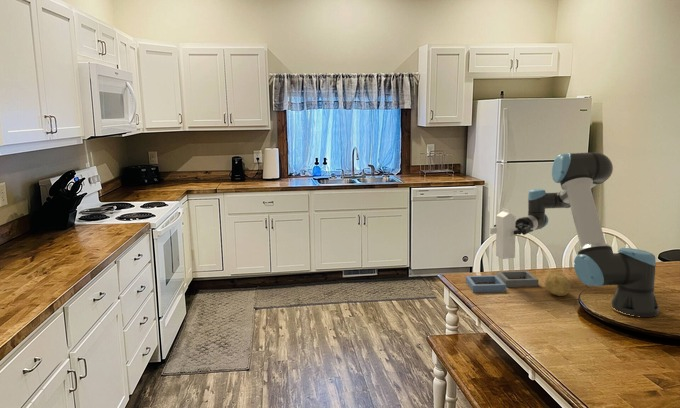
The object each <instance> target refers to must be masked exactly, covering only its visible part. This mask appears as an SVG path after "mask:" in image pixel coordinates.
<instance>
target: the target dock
mask: <svg viewBox="0 0 680 408" xmlns="http://www.w3.org/2000/svg"><path fill="white" fill-rule="evenodd" d="M476 282H477V283H476ZM478 282H487V283H478ZM489 282H494V283H490V284H489ZM465 283H466V285H467V284H468V285H467V286H468V288H469V287H470V288H471V289H470V288H469V289H470V290H471V292H472V291H473V292H472V293H495V292H496V293H501V292H507V287H506V284H505V283H504V282H503V281H502V280H501V279H500V278H499V277H498V276H497V274H495V275H493V274H492V275H491V274H490V275H466V276H465Z"/></svg>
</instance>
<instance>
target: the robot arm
mask: <svg viewBox="0 0 680 408" xmlns="http://www.w3.org/2000/svg"><path fill="white" fill-rule="evenodd" d="M613 170H614V166H613V162H612V160H611V159H610V158H609V157H608V156H607V155H606V154H604V153H601V152H595V151H593V152H568V153H560V154H558V155H557V156H556V157H555V159H554V161H553V163H552V168H551V177H552V180H553V181H554V183H557V184H560V188H561V190H560V191H559V192H546V189H544V188H542V189H541V188H532V189H530V190H529V191H528V197H527V203H528V204H527V205H528V206H527V207H528V210H527V215H525V216H523V217H519V218H517V219H516V220H515V229H512V230H509V231H508V237H511V236H514V235H515V236H517V235H521V234H522V235H523V236H525V235H527V234H529V233H531V232H534V231H536V230H541V229H543V228H545V227H546V226H547V225H548V224H549V218H548V215H547V214H546V210H547V209H569V208H570V210H571V215H572V219H573V222H574V226H575V230H576V231H575V232H576V234H577V239H578V242H579V246H580V247H579V250H578V251H577V255H576V256H575V258H574V261H573V263H574V264H573V268H574V272H575V274H576V276H577V279H578V280H579V281H580V282H581V283H582V284H583V285H585V286H588V287H592V286H593V287H601V286H602V287H603V286H616V287H617V288H616V291H615V293H614V295H613V298H612V300H611V302H610V305H612V307H613V308H615V309H616V310H618V311H621V312H623V313H626V314H630V315H634V316H640V317H650V318H654V317H653V316H655V317H657V316H658V315H659V309H660V308H659V305H658V301H657V299H656V296H655V278H656V267H657V264H656V263H657V261H656V256H655V255H654V254H653V252H650V251H646V250H642V249H638V248H631V247H620V248H618V253H617V252H615V253H614V250H613V247H612V245H610V244H608V243H606V239H605V235H604V233H603V232H604V231H603V229H602V224H601V221H600V217H599V214H598V210H597V207H596V202H595V199H594V194H593V193H592V188H594V187H595V186H597V185H601V184H604V183H605V182H606V181H607V180H609V179H610V177H611V176H612V174H613ZM489 230H490V235H494V234H495V235H496V224H494V225H493V227H490V228H489ZM640 317H639V318H640Z"/></svg>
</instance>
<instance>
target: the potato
mask: <svg viewBox="0 0 680 408" xmlns="http://www.w3.org/2000/svg"><path fill="white" fill-rule="evenodd" d="M544 285H545V289H546V290H547V291H549V293H551V294H552V295H554V296H558V297H562V296H563V297H564V296H567V294H568V293H570V288H571V287H570V286H571V285H570V281H569V279H568V278H567V277H566V276H565V275H564V274H563V273H562V272H560V271H558V270H557V271H556V270H555V271H552V272H551V273H549V274H548V276H547V277H546V279H545V282H544Z"/></svg>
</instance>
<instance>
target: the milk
mask: <svg viewBox="0 0 680 408" xmlns="http://www.w3.org/2000/svg"><path fill="white" fill-rule="evenodd" d="M501 210H502V211H500V212H499V213H498V214H496V219H495V221H496V223H495V225H496V233H495V239H496V240H495V246H496V247H495V256H496V257H498V258H500V259H502V260H505V259H506V260H507V259H515V258H516V235H514V236H511V237H508V231H509V230H512V229H515V222H516V220H517V219H516V216H515V215H514V214H512V213H510V211H511V210H510V209H507V208H505V207H502V208H501Z"/></svg>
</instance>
